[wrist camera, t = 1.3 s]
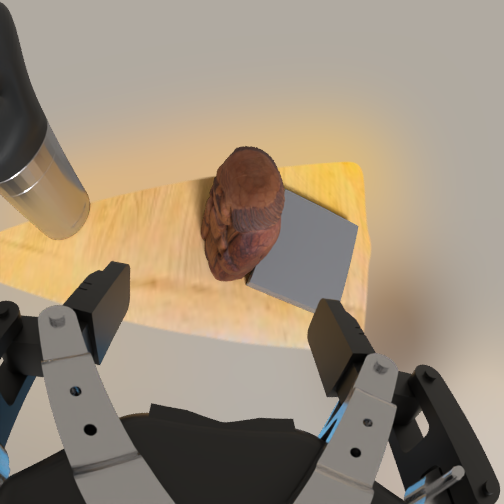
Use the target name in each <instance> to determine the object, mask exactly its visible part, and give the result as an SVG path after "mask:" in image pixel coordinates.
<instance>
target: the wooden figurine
mask: <svg viewBox="0 0 504 504" xmlns="http://www.w3.org/2000/svg"><path fill="white" fill-rule="evenodd" d="M284 194H285V191H284V186H283V182H282V178H281V175H280V172H279V171H278V169H277V166H276V164H275V162H274V160H272V158H271V157H270V156H269V155H268V154H267V153H266V152H264V151H263V150H261V149H258V148H257V147H256V148H255V147H247V146H245V147H239V148H236V149H235V150H234V152H233V153H232V154H231V155H230V156H229V157H228V158H227V159H226V160H225V162H224V163H223V164H222V165H221V166H220V167H219V169H218V170H217V176H216V177H215V178H214V183H213V186H212V188H211V191H210V197H209V198H208V200H207V204H206V209H205V213H204V217H203V223H202V228H201V236H202V238H203V239H205V240H206V245H205V255H206V258H207V260H208V261H209V267H210V270H211V272H212V274H213V276H214V277H215V279H217V280H220V281H233V280H236V279H241V278H243V277H244V276H245V275H246V274H247V273H248V272H250V271H251V270H252V269H253V268H254V267H255V266H256V265H258V264H259V263H260V261H261V260H263V259H264V257H266V256H267V254H268V253H269V252H270V250H271V249H272V247H273V246H274V244H275V243H276V241H277V239H278V236H279V234H280V229H281V215H282V211H283V208H284V202H285V196H284Z"/></svg>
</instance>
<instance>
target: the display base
mask: <svg viewBox="0 0 504 504" xmlns="http://www.w3.org/2000/svg"><path fill="white" fill-rule="evenodd" d="M284 196H285V202H284V208H283V211H282V215H281V229H280V234H279V236H278V239H277V241H276V243H275V244H274V246H273V247H272V249H271V250H270V252H269V253H268V254H267V256H266V257H264V259H263V260H261V261H260V263H259V264H258V265H256V266H255V267H254V268H253V269H252V271H251V273H250V276H249V278H248V281H247V283H246V285H247V286H249V287H252V288H254V289H256V290H259V291H261V292H263V293H266V294H268V295H271V296H273V297H275V298H278V299H280V300H283V301H285V302H287V303H290V304H292V305H295V306H297V307H300V308H302V309H305V310H307V311H310V312H312V313H315V311H316V308H317V306H318V303H319V301H320V300H321V299H322V298H326V299H333V300H339V301H341V297H342V293H343V290H344V286H345V282H346V278H347V274H348V270H349V266H350V262H351V258H352V253H353V249H354V244H355V240H356V235H357V231H358V226H357V225H355V224H353V223H351V222H350V221H348V220H346V219H344V218H342V217H340V216H338V215H336V214H335V213H333V212H331V211H329V210H327V209H325V208H323V207H321V206H319V205H317V204H315V203H313V202H311V201H309V200H307V199H305V198H303V197H301V196H299V195H297V194H295V193H293V192H291V191H289V190H287V189H285V194H284Z"/></svg>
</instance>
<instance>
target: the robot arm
mask: <svg viewBox="0 0 504 504" xmlns="http://www.w3.org/2000/svg"><path fill="white" fill-rule="evenodd" d="M0 194H1V195H2V196H3V197H4V198H5V199H6V200H7V201H8V202H9V203H10V204H11V205H12V206H13V207H14V208H16V209H17V210H18V211H19V212H20V213H21V214H22V215H23V216H24V217H25V218H27V219H28V220H29V221H30V222H31V223H32V224H33V225H35V226H36V227H37V228H38V229H39V230H40V231H42V232H43V233H44V234H45V235H46V236H48V237H50V238H51V239H55V240H62V239H66V238H68V237H70V236H72V235H74V234H75V233H76V232H77V231H78V230H79V229H80V228H81V227H82V226H83V224H84V223H85V221H86V219H87V217H88V213H89V208H90V202H89V197H88V194H87V192H86V191H85V189H84V188H83V186H82V184H81V182H80V181H79V179H78V177H77V175H76V174H75V172H74V170H73V168H72V166H71V165H70V163H69V161H68V159H67V158H66V156H65V154H64V152H63V150H62V148H61V146H60V145H59V142H58V141H57V138H56V137H55V135H54V133H53V131H52V129H51V127H50V125H49V123H48V121H47V119H46V116H45V114H44V112H43V110H42V108H41V106H40V104H39V102H38V99H37V97H36V95H35V92H34V90H33V87H32V85H31V82H30V79H29V76H28V73H27V70H26V66H25V62H24V59H23V55H22V51H21V47H20V43H19V39H18V35H17V31H16V27H15V25H14V22H13V19H12V16H11V14H10V12H9V10H8V8H7V7H6V6H5V5H4V4H3V3H1V2H0ZM129 301H130V266H129V264H124V263H119V262H114V261H111V262H110V263H109V265H108V266H107V267H106V268H105V269H104V270H103V271H100V270H98V271H96V272H94V273H92V274H90V275H88V277H87V278H86V279H85V280H84V281H83V283H81V284H80V286H79V287H78V288H77V289H76V290H75V291H74V292H73V294H72V295H71V296H70V297H69V298H68V299H67V301H66V302H65V303H64V304H63V305H55V306H51V307H48V308H46V309H44V310H43V311H42V312H41V313H40V314H39V317H32V316H21V315H20V310H19V307H18V305H17V304H15V303H14V302H11V301H1V302H0V359H1V357H2V358H3V360H4V361H3V363H2V364H1V366H0V504H494V503H495V502H496V501H497V500H498V498H499V494H500V486H499V482H498V480H497V478H496V475H495V473H494V471H493V469H492V467H491V464H490V462H489V460H488V458H487V456H486V454H485V452H484V450H483V448H482V446H481V444H480V442H479V440H478V439H477V437H476V435H475V433H474V431H473V429H472V427H471V425H470V424H469V422H468V420H467V418H466V416H465V415H464V413H463V411H462V410H461V408H460V406H459V404H458V403H457V401H456V399H455V398H454V396H453V394H452V393H451V391H450V390H449V388H448V386H447V385H446V383H445V381H444V380H443V378H442V377H441V375H440V374H439V373H438V372H437V371H436V370H435V369H433V368H432V367H430V366H427V365H419V366H417V367H416V369H415V370H414V371H413V373H412V374H409V373H405V372H400V371H398V368H397V366H396V364H395V363H394V362H393V361H392V360H391V359H390V358H388V357H386V356H384V355H382V354H377V353H375V351H374V349H373V347H372V346H371V344H370V343H369V341H368V339H367V337H366V336H365V335H364V332H363V331H362V329H360V326H359V324H358V322H357V321H356V319H355V318H353V317H352V316H351V315H350V314H349V313H348V312H346V311H345V309H344V308H343V306H342V304H341V303H340V301H339V300H333V299H326V298H322V299H321V300H320V301H319V303H318V306H317V308H316V311H315V313H314V316H313V318H312V321H311V323H310V326H309V329H308V342H309V345H310V348H311V351H312V354H313V357H314V360H315V363H316V365H317V369H318V372H319V375H320V378H321V381H322V384H323V387H324V390H325V393H326V396H327V397H338V398H339V401H338V403H337V404H336V406H335V407H334V409H333V411H332V413H331V415H330V417H329V418H328V420H327V422H326V424H325V425H324V427H323V429H322V430H321V432H320V434H319V435H318V437H316V436H315V435H313V434H310V433H308V432H305V431H302V430H299V429H295V426H294V422H293V419H271V418H257V419H250V420H243V421H235V422H227V423H226V422H219V421H216V420H213V419H210V418H207V417H204V416H201V415H198V414H196V413H193V412H190V411H188V410H183V409H177V408H172V407H166V406H161V405H157V404H151V407H150V411H149V413H138V414H131V415H126V416H123V417H120V418H119V417H118V416H117V413H116V411H115V409H114V407H113V405H112V403H111V401H110V399H109V396H108V394H107V392H106V390H105V388H104V385H103V383H102V381H101V378H100V376H99V373H98V371H97V368H96V366H95V364H97V365H100V364H101V362H102V360H103V358H104V356H105V354H106V351H107V350H108V348H109V346H110V343H111V341H112V339H113V337H114V336H115V334H116V332H117V330H118V328H119V326H120V324H121V322H122V320H123V318H124V316H125V314H126V312H127V310H128V307H129ZM36 376H38V377H44V380H45V385H46V389H47V393H48V397H49V401H50V405H51V409H52V412H53V416H54V419H55V423H56V426H57V429H58V432H59V435H60V438H61V441H62V444H63V446H64V449H63V450H61V451H59V452H57V453H55V454H53V455H51V456H50V457H48V458H46V459H44V460H42V461H40V462H38V463H36V464H34V465H32V466H30V467H28V468H26V469H24V470H22V471H20V472H18V473H16V474H13V475H12V476H10V477H9V473H10V468H9V457H8V454H7V451H6V450H5V445H6V443H7V440H8V437H9V435H10V432H11V430H12V427H13V425H14V422H15V420H16V418H17V415H18V413H19V411H20V409H21V406H22V404H23V402H24V400H25V398H26V395H27V393H28V392H29V390H30V387H31V386H32V384H33V382H34V380H35V378H36ZM421 411H423V413H424V415H425V417H426V419H427V421H428V424H429V431H428V433H427V435H426V436H425V437H424V438H423V436H422V433H421V431H420V429H419V427H418V424H417V422H416V420H415V417H416V416H417V415H418V414H419V413H420V412H421ZM388 441H389V444H390V447H391V449H392V452H393V455H394V458H395V461H396V464H397V467H398V470H399V473H400V476H401V479H402V482H403V485H404V488H405V496H404V500H402V499H401V498H399V497H398V496H396V495H395V494H393V493H392V492H390V491H389V490H387V489H386V488H385V487H383V486H382V485H380V484H379V483H377V482H376V481H375V477H376V475H377V472H378V469H379V466H380V463H381V461H382V458H383V454H384V452H385V448H386V445H387V442H388Z"/></svg>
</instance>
